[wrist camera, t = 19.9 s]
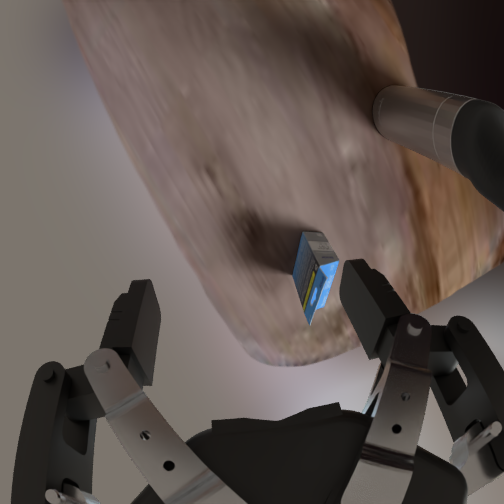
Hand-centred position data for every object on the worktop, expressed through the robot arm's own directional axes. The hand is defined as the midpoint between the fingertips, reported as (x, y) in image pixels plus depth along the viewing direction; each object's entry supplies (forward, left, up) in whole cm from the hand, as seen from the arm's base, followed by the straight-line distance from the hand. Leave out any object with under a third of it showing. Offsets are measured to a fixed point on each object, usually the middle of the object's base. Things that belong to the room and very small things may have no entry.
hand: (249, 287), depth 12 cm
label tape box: (-12, +19, -30) cm, 38 cm away
